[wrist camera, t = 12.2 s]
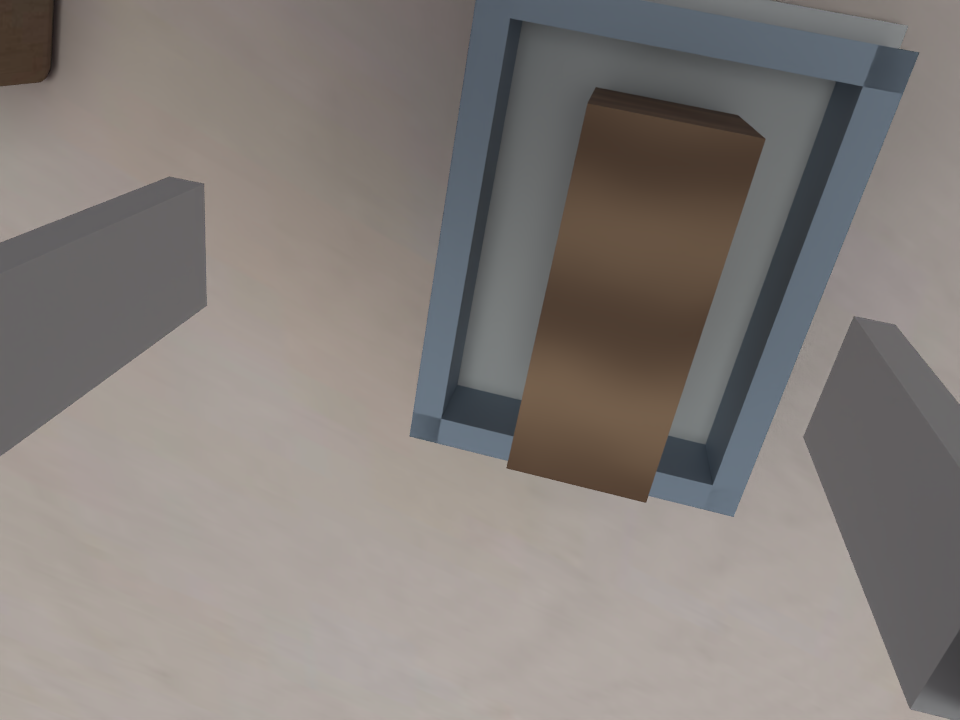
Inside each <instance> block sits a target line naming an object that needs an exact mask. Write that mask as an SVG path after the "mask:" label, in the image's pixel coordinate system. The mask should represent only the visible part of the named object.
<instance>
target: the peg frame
mask: <svg viewBox="0 0 960 720" xmlns="http://www.w3.org/2000/svg"><path fill="white" fill-rule="evenodd" d="M907 28H908V26H907V25H901V24H896V23H890V22H885V21H880V20H874V19H869V18H863V17H858V16H853V15H847V14H842V13H836V12H831V11H826V10H820V9H815V8H809V7H804V6H799V5H793V4H788V3H782V2H777V1H772V0H476V2H475V9H474V16H473V22H472V29H471V35H470V42H469V48H468V55H467V62H466V68H465V75H464V81H463V88H462V95H461V101H460V108H459V114H458V121H457V127H456V134H455V141H454V147H453V154H452V160H451V167H450V174H449V180H448V187H447V193H446V200H445V206H444V213H443V220H442V226H441V233H440V239H439V246H438V253H437V259H436V266H435V272H434V279H433V285H432V292H431V299H430V305H429V312H428V318H427V325H426V331H425V338H424V345H423V351H422V358H421V364H420V371H419V378H418V384H417V391H416V397H415V404H414V410H413V417H412V424H411V430H410V437H414V438H418V439H422V440H426V441H430V442H434V443H438V444H442V445H446V446H450V447H455V448H459V449H463V450H467V451H471V452H475V453H479V454H483V455H487V456H491V457H495V458H499V459H503V460H507V461H508V459H509V454H510V450H511V445H512V441H513V436H514V432H515V427H516V423H517V418H518V414H519V409H520V405H521V400H522V396H523V391H524V387H525V382H526V378H527V373H528V369H529V364H530V360H531V355H532V351H533V346H534V342H535V337H536V333H537V328H538V324H539V319H540V315H541V310H542V306H543V301H544V297H545V292H546V288H547V283H548V279H549V274H550V270H551V265H552V261H553V256H554V252H555V247H556V243H557V238H558V234H559V229H560V224H561V220H562V215H563V211H564V206H565V202H566V197H567V193H568V188H569V184H570V179H571V175H572V170H573V166H574V161H575V157H576V152H577V148H578V143H579V139H580V134H581V130H582V125H583V121H584V116H585V112H586V107H587V103H588V101H589V99H590V97H591V95H592V93H593V91H594V90H595V88H596V87H598V88H603V89H608V90H613V91H618V92H623V93H628V94H634V95H639V96H644V97H649V98H654V99H659V100H664V101H669V102H674V103H679V104H684V105H689V106H694V107H699V108H705V109H710V110H715V111H720V112H725V113H730V114H735V115H739V116H740V117H741V118H742V119H743V120H744V121H746V122H747V123H748V124H749V125H750V126H751V127H753V128H754V129H755V130H756V131H757V132H758V133H760V134H761V135H762V136H763V137H764V138H765V139H766V140H765V143H764V146H763V149H762V152H761V155H760V158H759V161H758V164H757V167H756V170H755V173H754V176H753V180H752V183H751V186H750V189H749V192H748V195H747V198H746V201H745V204H744V207H743V210H742V213H741V216H740V219H739V222H738V225H737V228H736V231H735V234H734V237H733V240H732V243H731V246H730V249H729V252H728V255H727V258H726V262H725V265H724V268H723V271H722V274H721V277H720V280H719V283H718V286H717V289H716V292H715V295H714V298H713V301H712V304H711V307H710V310H709V313H708V316H707V319H706V322H705V325H704V328H703V331H702V334H701V337H700V340H699V343H698V347H697V350H696V353H695V356H694V359H693V362H692V365H691V368H690V371H689V374H688V377H687V380H686V383H685V386H684V389H683V392H682V395H681V398H680V401H679V404H678V407H677V410H676V413H675V416H674V419H673V422H672V425H671V428H670V432H669V435H668V438H667V441H666V444H665V447H664V450H663V453H662V456H661V459H660V462H659V465H658V468H657V471H656V474H655V477H654V480H653V483H652V486H651V489H650V492H649V495H648V496H652V497H656V498H660V499H664V500H668V501H672V502H676V503H680V504H684V505H688V506H692V507H696V508H700V509H704V510H708V511H712V512H716V513H720V514H724V515H728V516H732V517H734V514H735V512H736V509H737V507H738V504H739V502H740V499H741V497H742V494H743V492H744V489H745V487H746V484H747V482H748V479H749V477H750V474H751V472H752V469H753V467H754V464H755V462H756V459H757V457H758V454H759V452H760V449H761V447H762V444H763V442H764V439H765V437H766V434H767V432H768V429H769V427H770V424H771V422H772V419H773V417H774V414H775V412H776V409H777V407H778V404H779V402H780V399H781V397H782V394H783V392H784V389H785V387H786V384H787V382H788V379H789V377H790V374H791V372H792V369H793V367H794V364H795V362H796V359H797V357H798V354H799V352H800V349H801V347H802V344H803V342H804V339H805V337H806V334H807V332H808V329H809V327H810V324H811V322H812V319H813V317H814V314H815V312H816V309H817V307H818V304H819V302H820V299H821V297H822V294H823V292H824V289H825V287H826V284H827V282H828V279H829V277H830V274H831V272H832V269H833V267H834V264H835V262H836V259H837V257H838V254H839V252H840V249H841V247H842V244H843V242H844V239H845V237H846V234H847V232H848V229H849V227H850V224H851V222H852V219H853V217H854V214H855V212H856V209H857V207H858V204H859V202H860V199H861V197H862V194H863V192H864V189H865V187H866V184H867V182H868V179H869V177H870V174H871V172H872V169H873V167H874V164H875V162H876V159H877V157H878V154H879V152H880V149H881V147H882V144H883V142H884V139H885V137H886V134H887V132H888V129H889V127H890V124H891V122H892V119H893V117H894V114H895V112H896V109H897V107H898V104H899V102H900V99H901V97H902V94H903V92H904V89H905V87H906V84H907V82H908V79H909V77H910V74H911V72H912V69H913V67H914V65H915V62H916V60H917V57H918V55H919V52H914V51H908V50H903V49H899V48H900V46H901V43H902V41H903V38H904V36H905V33H906V30H907Z"/></svg>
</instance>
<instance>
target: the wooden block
mask: <svg viewBox="0 0 960 720" xmlns="http://www.w3.org/2000/svg"><path fill="white" fill-rule="evenodd" d="M53 3H54V0H0V86H8V85H18V84H27V83H37V82H41V81H43V80H44V79H45V78H46V77H47V75H48V72H49V70H50V67H51V46H52V25H53Z"/></svg>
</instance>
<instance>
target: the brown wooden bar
mask: <svg viewBox="0 0 960 720" xmlns="http://www.w3.org/2000/svg"><path fill="white" fill-rule="evenodd" d="M765 140H766V139H765V138H764V137H763V136H762V135H761V134H760V133H758V132H757V131H756V130H755V129H754V128H753V127H751V126H750V125H749V124H748V123H747V122H746V121H744V120H743V119H742V118H741V117H740V116H739V115H735V114H730V113H725V112H720V111H715V110H710V109H705V108H699V107H694V106H689V105H684V104H679V103H674V102H669V101H664V100H659V99H654V98H649V97H644V96H639V95H634V94H628V93H623V92H618V91H613V90H608V89H603V88H598V87H596V88H595V90H594V91H593V93H592V95H591V97H590V99H589V101H588V103H587V107H586V112H585V116H584V121H583V125H582V130H581V134H580V139H579V143H578V148H577V152H576V157H575V161H574V166H573V170H572V175H571V179H570V184H569V188H568V193H567V197H566V202H565V206H564V211H563V215H562V220H561V224H560V229H559V234H558V238H557V243H556V247H555V252H554V256H553V261H552V265H551V270H550V274H549V279H548V283H547V288H546V292H545V297H544V301H543V306H542V310H541V315H540V319H539V324H538V328H537V333H536V337H535V342H534V346H533V351H532V355H531V360H530V364H529V369H528V373H527V378H526V382H525V387H524V391H523V396H522V400H521V405H520V409H519V414H518V418H517V423H516V427H515V432H514V436H513V441H512V445H511V450H510V454H509V459H508V464H507V468H508V469H512V470H516V471H520V472H524V473H528V474H532V475H536V476H540V477H544V478H548V479H552V480H556V481H560V482H564V483H568V484H572V485H576V486H581V487H585V488H589V489H593V490H597V491H601V492H605V493H609V494H613V495H617V496H621V497H625V498H629V499H633V500H637V501H641V502H645V503H646V501H647V498H648V495H649V492H650V489H651V486H652V483H653V480H654V477H655V474H656V471H657V468H658V465H659V462H660V459H661V456H662V453H663V450H664V447H665V444H666V441H667V438H668V435H669V432H670V428H671V425H672V422H673V419H674V416H675V413H676V410H677V407H678V404H679V401H680V398H681V395H682V392H683V389H684V386H685V383H686V380H687V377H688V374H689V371H690V368H691V365H692V362H693V359H694V356H695V353H696V350H697V347H698V343H699V340H700V337H701V334H702V331H703V328H704V325H705V322H706V319H707V316H708V313H709V310H710V307H711V304H712V301H713V298H714V295H715V292H716V289H717V286H718V283H719V280H720V277H721V274H722V271H723V268H724V265H725V262H726V258H727V255H728V252H729V249H730V246H731V243H732V240H733V237H734V234H735V231H736V228H737V225H738V222H739V219H740V216H741V213H742V210H743V207H744V204H745V201H746V198H747V195H748V192H749V189H750V186H751V183H752V180H753V176H754V173H755V170H756V167H757V164H758V161H759V158H760V155H761V152H762V149H763V146H764V143H765Z"/></svg>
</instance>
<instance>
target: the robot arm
mask: <svg viewBox="0 0 960 720" xmlns="http://www.w3.org/2000/svg"><path fill="white" fill-rule="evenodd" d="M205 306H207V294H206V249H205V203H204V184H203V183H198V182H193V181H188V180H183V179H178V178H174V177H167V178H165V179H162V180H159V181H157V182H154V183H152V184H149V185H147V186H144V187H142V188H139V189H136V190H134V191H131V192H129V193H126V194H124V195H121V196H119V197H116V198H113V199H111V200H108V201H106V202H103V203H101V204H98V205H96V206H93V207H90V208H88V209H85V210H83V211H80V212H78V213H75V214H73V215H70V216H67V217H65V218H62V219H60V220H57V221H55V222H52V223H50V224H47V225H44V226H42V227H39V228H37V229H34V230H32V231H29V232H27V233H24V234H21V235H19V236H16V237H14V238H11V239H9V240H6V241H4V242H1V243H0V456H1V455H3V454H4V453H5V452H7V451H8V450H10V449H11V448H12V447H14V446H15V445H16V444H18V443H19V442H21V441H22V440H23V439H25V438H26V437H27V436H29V435H30V434H32V433H33V432H34V431H36V430H37V429H38V428H40V427H41V426H42V425H44V424H45V423H47V422H48V421H49V420H51V419H52V418H53V417H55V416H56V415H58V414H59V413H60V412H62V411H63V410H64V409H66V408H67V407H68V406H70V405H71V404H73V403H74V402H75V401H77V400H78V399H79V398H81V397H82V396H84V395H85V394H86V393H88V392H89V391H90V390H92V389H93V388H95V387H96V386H97V385H99V384H100V383H101V382H103V381H104V380H105V379H107V378H108V377H110V376H111V375H112V374H114V373H115V372H116V371H118V370H119V369H121V368H122V367H123V366H125V365H126V364H127V363H129V362H130V361H132V360H133V359H134V358H136V357H137V356H138V355H140V354H141V353H142V352H144V351H145V350H147V349H148V348H149V347H151V346H152V345H153V344H155V343H156V342H158V341H159V340H160V339H162V338H163V337H164V336H166V335H167V334H169V333H170V332H171V331H173V330H174V329H175V328H177V327H178V326H179V325H181V324H182V323H184V322H185V321H186V320H188V319H189V318H190V317H192V316H193V315H195V314H196V313H197V312H199V311H200V310H201V309H203V308H204V307H205ZM803 437H804V440H805V442H806V445H807V448H808V450H809V453H810V455H811V458H812V460H813V463H814V465H815V468H816V471H817V473H818V476H819V478H820V481H821V483H822V486H823V488H824V491H825V493H826V496H827V499H828V501H829V504H830V506H831V509H832V511H833V514H834V516H835V519H836V522H837V524H838V527H839V529H840V532H841V534H842V537H843V539H844V542H845V545H846V547H847V550H848V552H849V555H850V557H851V560H852V562H853V565H854V568H855V570H856V573H857V575H858V578H859V580H860V583H861V585H862V588H863V591H864V593H865V596H866V598H867V601H868V603H869V606H870V608H871V611H872V613H873V616H874V619H875V621H876V624H877V626H878V629H879V631H880V634H881V636H882V639H883V642H884V644H885V647H886V649H887V652H888V654H889V657H890V659H891V662H892V665H893V667H894V670H895V672H896V675H897V677H898V680H899V682H900V685H901V688H902V690H903V693H904V695H905V698H906V700H907V703H908V705H909V708H910V709H912V710H916V711H920V712H924V713H928V714H932V715H936V716H940V717H944V718H948V719H951V720H960V404H959V403H958V402H957V401H956V399H955V398H954V397H953V396H952V394H951V393H950V392H949V391H948V390H947V388H946V387H945V386H944V385H943V383H942V382H941V381H940V380H939V378H938V377H937V376H936V375H935V373H934V372H933V371H932V370H931V368H930V367H929V366H928V365H927V363H926V362H925V361H924V360H923V358H922V357H921V356H920V355H919V354H918V352H917V351H916V350H915V349H914V347H913V346H912V345H911V344H910V342H909V341H908V340H907V339H906V337H905V336H904V335H903V334H902V332H901V331H900V330H899V329H898V327H897V326H896V325H894V324H889V323H884V322H879V321H875V320H870V319H865V318H860V317H855V316H854V317H853V320H852V322H851V324H850V327H849V329H848V332H847V334H846V336H845V339H844V341H843V343H842V346H841V348H840V351H839V353H838V355H837V358H836V360H835V363H834V365H833V367H832V370H831V372H830V374H829V377H828V379H827V382H826V384H825V386H824V389H823V391H822V394H821V396H820V398H819V401H818V403H817V405H816V408H815V410H814V413H813V415H812V417H811V420H810V422H809V425H808V427H807V429H806V432H805V434H804V436H803Z"/></svg>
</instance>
